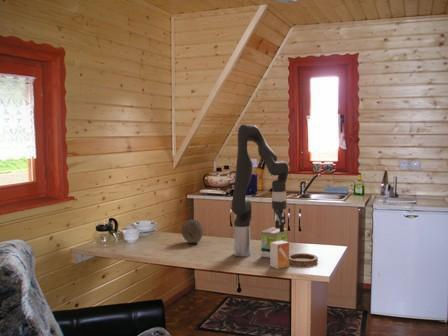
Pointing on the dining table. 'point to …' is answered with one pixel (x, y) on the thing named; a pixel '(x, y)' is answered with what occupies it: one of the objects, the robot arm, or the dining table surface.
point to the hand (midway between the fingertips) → (279, 230)
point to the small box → (279, 254)
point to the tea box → (271, 239)
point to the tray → (303, 259)
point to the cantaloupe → (192, 231)
